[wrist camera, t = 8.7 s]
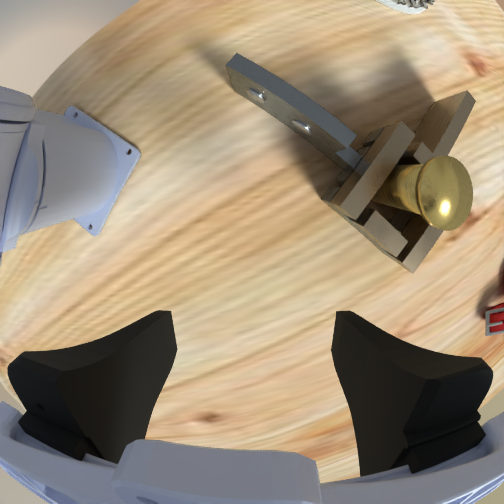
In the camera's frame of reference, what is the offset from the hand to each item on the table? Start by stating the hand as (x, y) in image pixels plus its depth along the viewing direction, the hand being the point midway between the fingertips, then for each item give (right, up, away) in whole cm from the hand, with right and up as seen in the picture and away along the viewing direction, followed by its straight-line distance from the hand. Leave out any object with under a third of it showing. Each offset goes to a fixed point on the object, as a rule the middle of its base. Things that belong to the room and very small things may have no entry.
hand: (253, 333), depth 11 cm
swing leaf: (+12, +10, +6) cm, 17 cm away
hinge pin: (+10, +8, +7) cm, 15 cm away
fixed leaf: (+6, +11, +7) cm, 14 cm away
